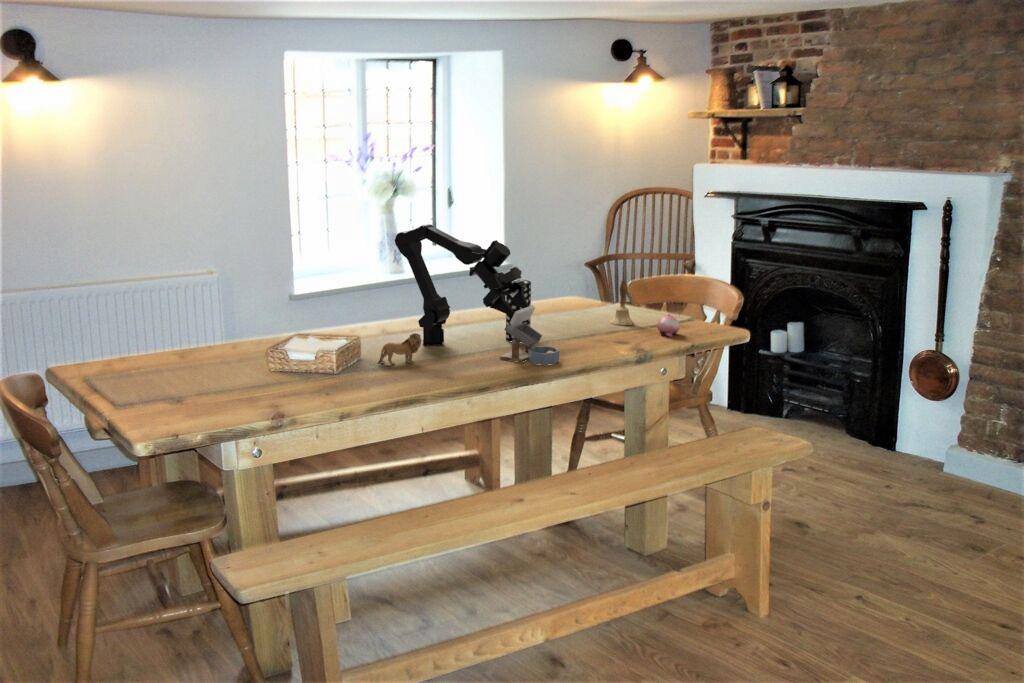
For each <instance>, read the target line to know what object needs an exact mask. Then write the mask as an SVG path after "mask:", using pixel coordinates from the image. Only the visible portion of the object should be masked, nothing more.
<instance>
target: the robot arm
mask: <svg viewBox="0 0 1024 683" xmlns="http://www.w3.org/2000/svg"><path fill="white" fill-rule="evenodd" d="M426 239H427V241H430V242H432V243H434V244H435V245H438V246H439V247H440V248H443V249H445V250H447V251H449V252H451V253H452V254H453V255H454V256H455V258H456V259H457V260H458V261H459V262H461V263H462V264H464V265H466V266H468V265H469V266H470V265H472V264H475V265H474V266H471V267H469V273H468V276H469V277H472V276H477V277H478V278H479V279H480V280H481V282H483V284H484V285H483V288H484V289H488V290H489V292H488V293H487V294H486V295H485V296H484V297H483V298H482V303H483V305H484V306H485V307H486V308H488V307H489V308H490V309H493V310H496V311H498V312H501V313H503V314H505V315H506V314H507V315H510V316H512V317H513V315H514V312H513V310H512V309H511V307H510V306H509V304H508V303H507V302H506V295H507V297H508V298H510V299H511V301H512V302H514V303H515V304H517V305H518V306H519V307H521V308H522V309H524V308H526V307H529V306H528V304H527V301H526V299H525V296H524V290H525V287H526V284H525V283H524V282H523V281H517V282H514V283H513V284H512V281H514V280H521V278H522V270H521V269H520V268H518V267H517V266H514V267H512V268H510V269H509V271H507V272H505V273H504V272H502V271H500V272H499V271H498V270H497V269H496V268H500V267H501V266H502V265H503V264H504V262H505V261H506V260H507V259H508V258H509V256H510V255H511V251H510V248H509V247H508V246H507V245H505V244H504V243H501V242H499V241H498V240H493V241H492V242H491V243H490V245H488V247H487V248H486V249H485V248H482V247H481V246H480V245H479V244H475V243H473V242H469V241H467V242H466V241H463V240H460V239H459V238H456V237H455V236H452V235H451V234H448V233H446V232H445V231H442V230H441V229H439V228H437V227H435V226H434V225H433V224H430V223H428V224H422V225H420V226H418V227H416V228H413V229H410V230H405V231H400V232H398V233H397V234H396V236H395V238H394V243H395V246H396V248H397V250H398V251H399V253H400V254H401V255H402V256H403V257H404V258H405V259H406V260H407V261H408V264H409V266H410V269H411V272H412V274H413V276H414V279H415V280H416V284H417V286H418V289H419V291H420V293H421V296H422V298H423V303H422V310H423V313H424V314H423V315H422V317H420V319H419V320H418V321H417V322H418V325H419V328H422V329H423V330H422V335H423V337H422V338H423V339H422V346H443V343H445V329H444V328H443V325H445V324H446V322H447V319H449V317H450V314H451V310H450V309H451V306H450V305H449V303H448V300H447V299H448V298H447V297H446V296H443V297H442V296H441V295H439V294H438V292H437V289H436V287H435V285H434V282H433V280H432V277H431V275H430V272H429V270H428V267H427V265H426V263H425V260H424V257H423V254H422V249H423V248H422V246H423V245H422V241H424V240H426ZM495 267H496V268H495ZM510 285H511V286H510ZM509 286H510V287H509Z"/></svg>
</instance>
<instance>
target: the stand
mask: <svg viewBox="0 0 1024 683" xmlns="http://www.w3.org/2000/svg"><path fill="white" fill-rule="evenodd" d="M524 347H525V348H524V350H523V349H520V343H519V340H518V339H512V342H511V351H510V352H507V353H504V354H502V355H500V356H499V359H500V360H502V361H508V360H511V361H510V362H514V361H518V362H517V363H520V362H523V361H525V360H527V361H528V349H530V348H532V347H533V345H531V346H529V347H527V346H526V345H524ZM525 362H526V361H525ZM523 363H524V362H523Z"/></svg>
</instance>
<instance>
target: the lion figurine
mask: <svg viewBox="0 0 1024 683" xmlns="http://www.w3.org/2000/svg"><path fill="white" fill-rule="evenodd" d="M421 344H422V338H421V334H419V333H415V332H413V333H412V334H409V337H408V338H406V339H405V340H404V341H402V342H400V343H395V342H388V343H385V344H384V345H383V347H382V349H381V351H380V352H381V353H380V355H379V356H380V357H379V361H378V362H377V363H376V364H377V365H379V364H385V363H386V361H385V360H384V359H385V358H386V357H387V362H389V364H390V365H391V366H395V362H393V361H392V358H393V355H394V354H395V355H399V356H403V355H405V356H404V357H405V358H404V360H405V362H406V361H409V362H408V363H409V364H411V363H413V364H414V360H413V354H416V353H417V352H418V351H419V349H420V347H421ZM412 360H413V361H412Z"/></svg>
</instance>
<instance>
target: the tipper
mask: <svg viewBox="0 0 1024 683" xmlns="http://www.w3.org/2000/svg"><path fill="white" fill-rule="evenodd" d="M535 309H536V306H535V305H532V304H531V306H529V307H526V308H524V309H521V310H518V311H515V313H514V315H513V317H512V319H511V321H510V324H511V325H509V326H507V327H506V326H505V327H504V330H503V331H505V332H506V331H507V332H508V333H509V334H511V335H512V336H513V337H515V338H516V339H518V340H519V341H520V342H522V344H523V345H524V346H525V345H526V346H527V347H529V346H531V345H532V346H533V345H535V344H538V343H540V341H541V339H542V337H543V334H541V333H540V332H539V331H537V330H536V329H534V328H533V327H531V325H530V326H529V325H527V323H526V322H524V323H522V322H523V321H525V320H528V319H530V317H532V315H533V313H534V311H535ZM521 323H522V324H521Z"/></svg>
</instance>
